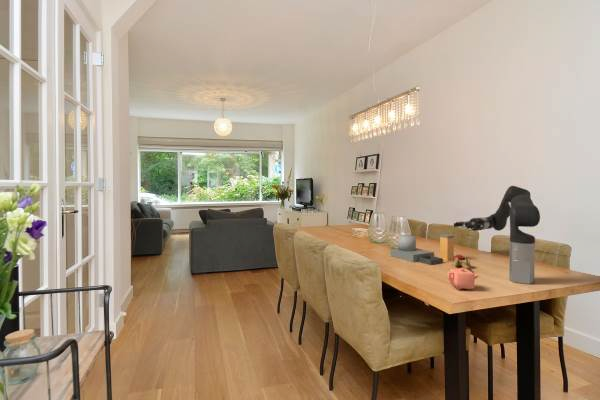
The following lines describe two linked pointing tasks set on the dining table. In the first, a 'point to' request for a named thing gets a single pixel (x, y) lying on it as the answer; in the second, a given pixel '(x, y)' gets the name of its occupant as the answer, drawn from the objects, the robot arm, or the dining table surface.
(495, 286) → the dining table surface
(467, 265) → the red flower
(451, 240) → the orange tall block
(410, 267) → the dining table surface
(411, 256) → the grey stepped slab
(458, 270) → the pink cube teapot
